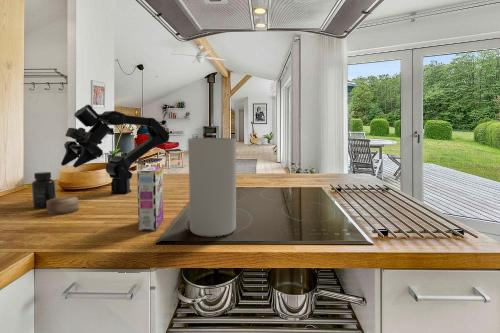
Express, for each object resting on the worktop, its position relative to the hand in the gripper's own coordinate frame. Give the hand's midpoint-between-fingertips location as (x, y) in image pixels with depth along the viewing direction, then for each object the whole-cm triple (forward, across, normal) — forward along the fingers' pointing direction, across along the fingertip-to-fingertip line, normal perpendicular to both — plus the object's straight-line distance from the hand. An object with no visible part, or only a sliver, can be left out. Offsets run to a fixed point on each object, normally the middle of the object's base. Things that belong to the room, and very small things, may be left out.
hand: (67, 165), depth 116 cm
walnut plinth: (+15, +12, +4) cm, 19 cm away
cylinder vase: (+4, +65, +15) cm, 66 cm away
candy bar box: (+9, +48, +10) cm, 50 cm away
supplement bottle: (+16, 0, +4) cm, 16 cm away
